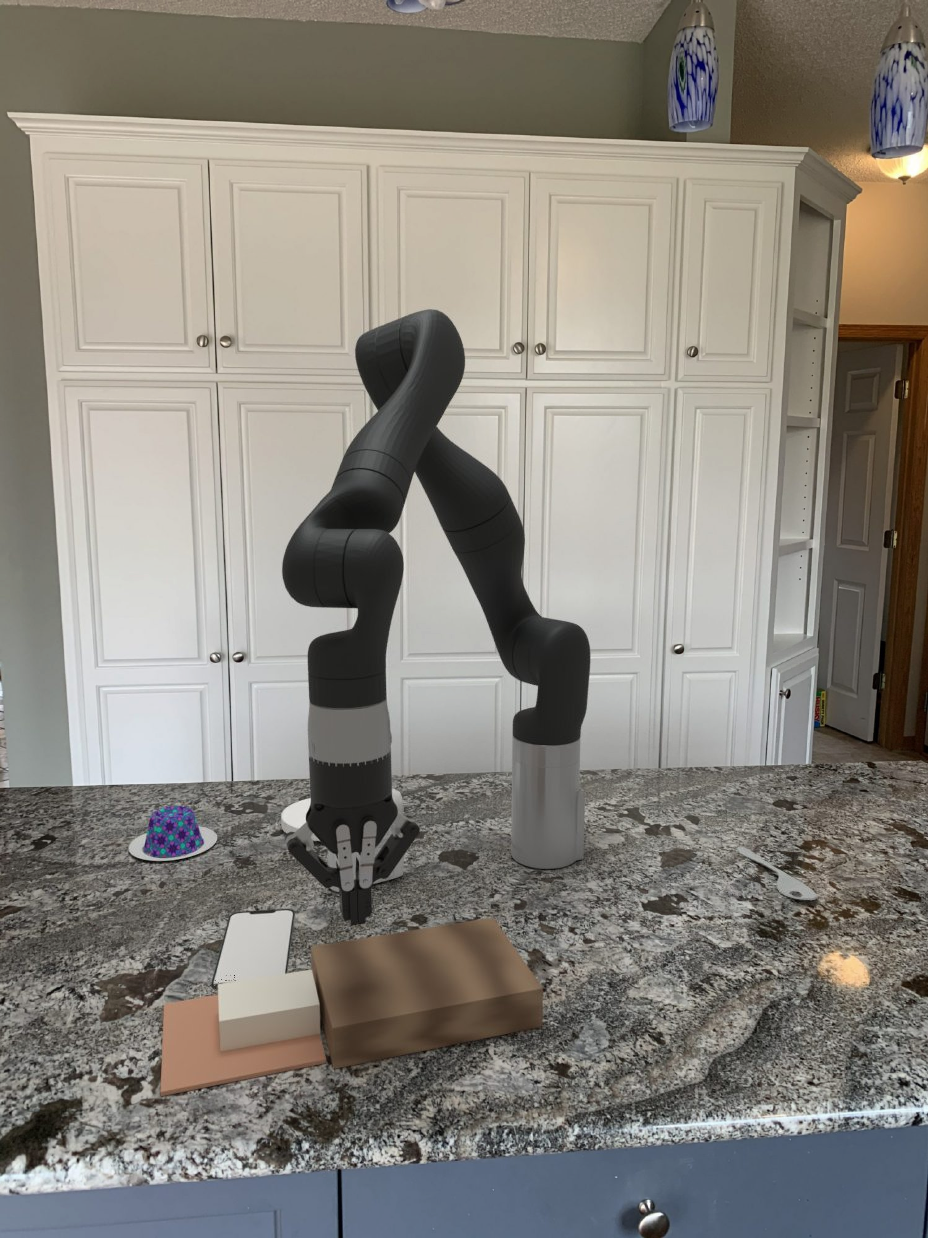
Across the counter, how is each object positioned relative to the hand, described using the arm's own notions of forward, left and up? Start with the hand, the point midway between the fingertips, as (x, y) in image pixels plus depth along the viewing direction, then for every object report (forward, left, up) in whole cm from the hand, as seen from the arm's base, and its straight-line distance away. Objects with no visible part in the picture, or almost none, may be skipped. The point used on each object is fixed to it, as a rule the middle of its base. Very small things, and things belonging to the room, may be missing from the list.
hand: (355, 921), depth 82 cm
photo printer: (-7, -28, -10) cm, 31 cm away
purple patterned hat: (+18, -47, -11) cm, 51 cm away
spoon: (-58, -15, -11) cm, 61 cm away
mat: (+11, -1, -10) cm, 15 cm away
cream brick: (+8, -1, -10) cm, 13 cm away
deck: (-7, 0, -10) cm, 12 cm away
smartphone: (+8, -16, -11) cm, 21 cm away
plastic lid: (-5, -47, -11) cm, 49 cm away
